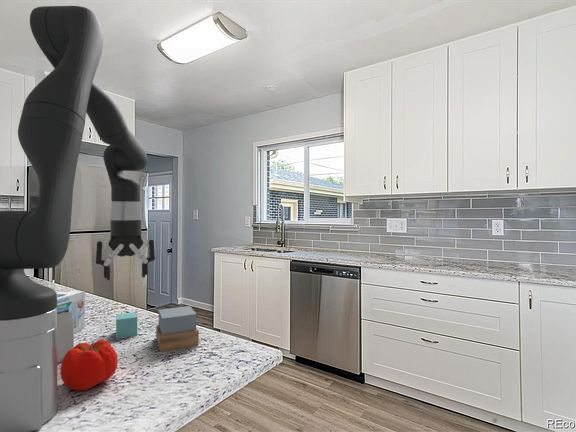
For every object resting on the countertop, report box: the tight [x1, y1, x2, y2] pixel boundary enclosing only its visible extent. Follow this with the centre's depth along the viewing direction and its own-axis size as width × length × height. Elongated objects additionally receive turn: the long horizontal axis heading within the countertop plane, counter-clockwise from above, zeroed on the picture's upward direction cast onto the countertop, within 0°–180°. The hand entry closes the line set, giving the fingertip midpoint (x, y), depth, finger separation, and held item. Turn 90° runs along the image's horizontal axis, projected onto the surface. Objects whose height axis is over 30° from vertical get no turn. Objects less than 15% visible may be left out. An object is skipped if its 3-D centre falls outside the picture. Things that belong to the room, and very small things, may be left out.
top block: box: [158, 305, 197, 335], centre depth 86 cm, size 8×8×4 cm
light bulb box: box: [56, 289, 86, 334], centre depth 91 cm, size 11×7×11 cm, turn 168°
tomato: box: [59, 339, 119, 391], centre depth 65 cm, size 9×9×8 cm
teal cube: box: [115, 311, 138, 339], centre depth 91 cm, size 5×5×5 cm
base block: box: [155, 324, 200, 353], centre depth 85 cm, size 9×9×4 cm
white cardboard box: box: [57, 312, 75, 363], centre depth 75 cm, size 4×7×10 cm, turn 137°
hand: (126, 278), depth 91 cm, fingers open, 8 cm apart
